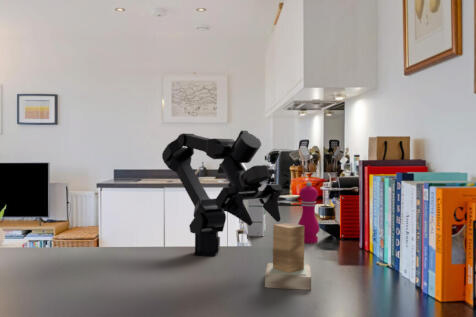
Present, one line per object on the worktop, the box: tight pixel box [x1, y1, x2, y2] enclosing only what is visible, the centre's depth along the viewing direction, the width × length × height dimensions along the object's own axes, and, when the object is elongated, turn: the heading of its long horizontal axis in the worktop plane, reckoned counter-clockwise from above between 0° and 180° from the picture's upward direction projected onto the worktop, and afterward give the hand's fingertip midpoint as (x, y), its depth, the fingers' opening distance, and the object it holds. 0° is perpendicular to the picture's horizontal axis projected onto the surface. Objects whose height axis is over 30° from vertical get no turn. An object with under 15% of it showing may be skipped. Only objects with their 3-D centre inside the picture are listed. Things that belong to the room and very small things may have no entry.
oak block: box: [272, 222, 305, 273], centre depth 96 cm, size 5×5×10 cm
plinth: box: [264, 262, 312, 291], centre depth 96 cm, size 10×10×3 cm
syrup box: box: [247, 199, 267, 237], centre depth 150 cm, size 6×6×14 cm
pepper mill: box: [297, 181, 320, 244], centre depth 140 cm, size 7×7×20 cm
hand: (265, 222), depth 103 cm, fingers open, 9 cm apart
